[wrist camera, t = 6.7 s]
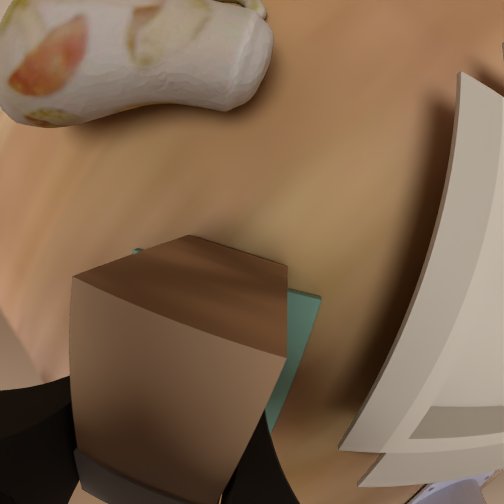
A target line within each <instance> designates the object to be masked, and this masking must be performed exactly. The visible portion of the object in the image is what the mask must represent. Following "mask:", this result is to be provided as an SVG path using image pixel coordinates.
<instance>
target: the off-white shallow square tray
mask: <svg viewBox="0 0 504 504" xmlns="http://www.w3.org/2000/svg"><path fill="white" fill-rule="evenodd" d="M502 48H503V58H504V42H503V43H502ZM338 450H342V451H355V452H374V453H381V454H380V456H379V457H378V458H377V460H376V461H375V462H374V463H373V464H372V466H371V467H370V468H369V469H368V471H367V472H366V473H365V474H364V475H363V476H362V478H361V479H360V480H359V481H358V482H357V487H391V486H407V485H418V484H427V483H435V482H442V481H449V480H455V479H460V478H465V477H470V476H475V475H479V474H484V473H488V472H491V471H495V470H499V469H502V468H504V97H503V96H501V95H500V94H498V93H497V92H495V91H494V90H492V89H490V88H489V87H487V86H486V85H484V84H482V83H481V82H479V81H477V80H476V79H474V78H472V77H471V76H469V75H467V74H465V73H463V72H462V71H461V72H459V73H458V74H457V91H456V106H455V117H454V127H453V135H452V143H451V150H450V156H449V162H448V168H447V174H446V179H445V184H444V189H443V194H442V198H441V203H440V207H439V211H438V215H437V219H436V223H435V227H434V231H433V234H432V238H431V242H430V245H429V248H428V252H427V255H426V258H425V261H424V265H423V268H422V271H421V274H420V277H419V280H418V282H417V285H416V288H415V291H414V294H413V296H412V299H411V302H410V304H409V307H408V309H407V312H406V314H405V317H404V319H403V322H402V324H401V327H400V329H399V331H398V334H397V336H396V338H395V341H394V343H393V345H392V347H391V349H390V352H389V354H388V356H387V358H386V360H385V362H384V364H383V366H382V368H381V370H380V372H379V374H378V376H377V378H376V380H375V382H374V384H373V386H372V388H371V390H370V392H369V393H368V395H367V397H366V399H365V401H364V403H363V404H362V406H361V408H360V410H359V411H358V413H357V415H356V416H355V418H354V420H353V421H352V423H351V425H350V426H349V428H348V430H347V431H346V433H345V434H344V436H343V438H342V439H341V441H340V442H339V444H338Z"/></svg>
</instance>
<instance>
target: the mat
mask: <svg viewBox="0 0 504 504" xmlns="http://www.w3.org/2000/svg"><path fill="white" fill-rule="evenodd" d="M140 251H143V250H142V249H139V248H137V249H134V250H133V254H135V253H138V252H140ZM320 303H321V296H317V295H313V294H308V293H304V292H300V291H296V290H292V289H288V288H287V359H286V361H285V363H284V366H283V368H282V370H281V373H280V375H279V377H278V380H277V382H276V384H275V387H274V389H273V391H272V393H271V396H270V398H269V400H268V402H267V404H266V407H265V412H266V418H267V423H268V428H269V432H270V435H271V432H272V430H273V428H274V425H275V423H276V421H277V418H278V416H279V414H280V411H281V409H282V407H283V404H284V402H285V399H286V397H287V394H288V392H289V389H290V387H291V384H292V382H293V379H294V376H295V374H296V371H297V369H298V366H299V363H300V361H301V358H302V355H303V353H304V350H305V347H306V344H307V341H308V339H309V336H310V333H311V330H312V327H313V324H314V321H315V318H316V315H317V312H318V309H319V306H320Z"/></svg>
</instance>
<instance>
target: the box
mask: <svg viewBox="0 0 504 504" xmlns="http://www.w3.org/2000/svg"><path fill="white" fill-rule="evenodd" d="M286 359H287V266H285V265H281V264H278V263H275V262H272V261H269V260H266V259H263V258H260V257H256V256H253V255H250V254H247V253H244V252H241V251H238V250H235V249H231V248H228V247H225V246H222V245H219V244H216V243H213V242H210V241H207V240H203V239H200V238H197V237H194V236H191V235H187V236H184V237H181V238H178V239H175V240H172V241H169V242H166V243H163V244H161V245H158V246H155V247H152V248H149V249H146V250H143V251H140V252H138V253H135V254H132V255H129V256H126V257H124V258H121V259H118V260H115V261H112V262H110V263H107V264H104V265H102V266H99V267H96V268H93V269H91V270H88V271H85V272H83V273H80V274H77V275H75V276H72V288H71V302H70V324H69V363H70V385H71V399H72V410H73V419H74V427H75V434H76V441H77V448H76V449H75V450H74V456H75V461H76V466H77V470H78V474H79V478H80V482H81V486H82V489H83V490H84V491H86V492H88V493H89V494H91V495H93V496H95V497H97V498H98V499H100V500H102V501H104V502H106V503H108V504H219V500H220V497H221V495H222V493H223V491H224V489H225V487H226V485H227V483H228V482H229V480H230V478H231V476H232V474H233V472H234V470H235V468H236V466H237V464H238V462H239V461H240V459H241V457H242V455H243V453H244V451H245V449H246V447H247V445H248V443H249V440H250V438H251V436H252V434H253V432H254V430H255V428H256V426H257V424H258V422H259V420H260V417H261V415H262V413H263V411H264V409H265V407H266V404H267V402H268V400H269V398H270V396H271V393H272V391H273V389H274V387H275V384H276V382H277V380H278V377H279V375H280V373H281V370H282V368H283V366H284V363H285V361H286Z"/></svg>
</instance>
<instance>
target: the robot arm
mask: <svg viewBox="0 0 504 504" xmlns="http://www.w3.org/2000/svg"><path fill="white" fill-rule="evenodd" d="M76 448H77V441H76V434H75V427H74V419H73V410H72V399H71V385H70V376H67V377H64V378H61V379H59V380H56V381H53V382H49V383H45V384H42V385H37V386H33V387H27V388H21V389H12V390H2V391H0V504H68V502H69V500H70V498H71V496H72V493H73V491H74V489H75V488H76V486H77V484H78V482H79V480H80V478H79V474H78V470H77V466H76V461H75V456H74V450H75V449H76ZM493 473H494V471H491V472H488V473H484V474H479V475H475V476H470V477H465V478H460V479H455V480H449V481H442V482H435V483H428V484H427V485H426V486H425V487H424V488H423V489H422V490H421V491H420V492H419V493H418V494H417V495H416V496H415V497H414V498H413V499H412V500H411V501H409V502H408V503H407V504H486V501H485V499H484V497H483V494H482V492H481V490H480V486H481V485H482V484H483V483H484V482H485V481H486V480H487V479H488V478H489V477H490V476H491V475H492V474H493ZM221 504H300V503H299V501H298V500H297V498H296V496H295V494H294V493H293V491H292V489H291V487H290V485H289V483H288V481H287V479H286V477H285V475H284V473H283V470H282V468H281V465H280V463H279V460H278V458H277V455H276V452H275V449H274V446H273V443H272V439H271V436H270V432H269V428H268V423H267V418H266V412H265V409H264V411H263V413H262V415H261V417H260V420H259V422H258V424H257V426H256V428H255V430H254V432H253V434H252V436H251V438H250V440H249V443H248V445H247V447H246V449H245V451H244V453H243V455H242V457H241V459H240V461H239V462H238V464H237V466H236V468H235V470H234V472H233V474H232V476H231V478H230V480H229V482H228V483H227V485H226V487H225V489H224V491H223V493H222V499H221Z"/></svg>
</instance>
